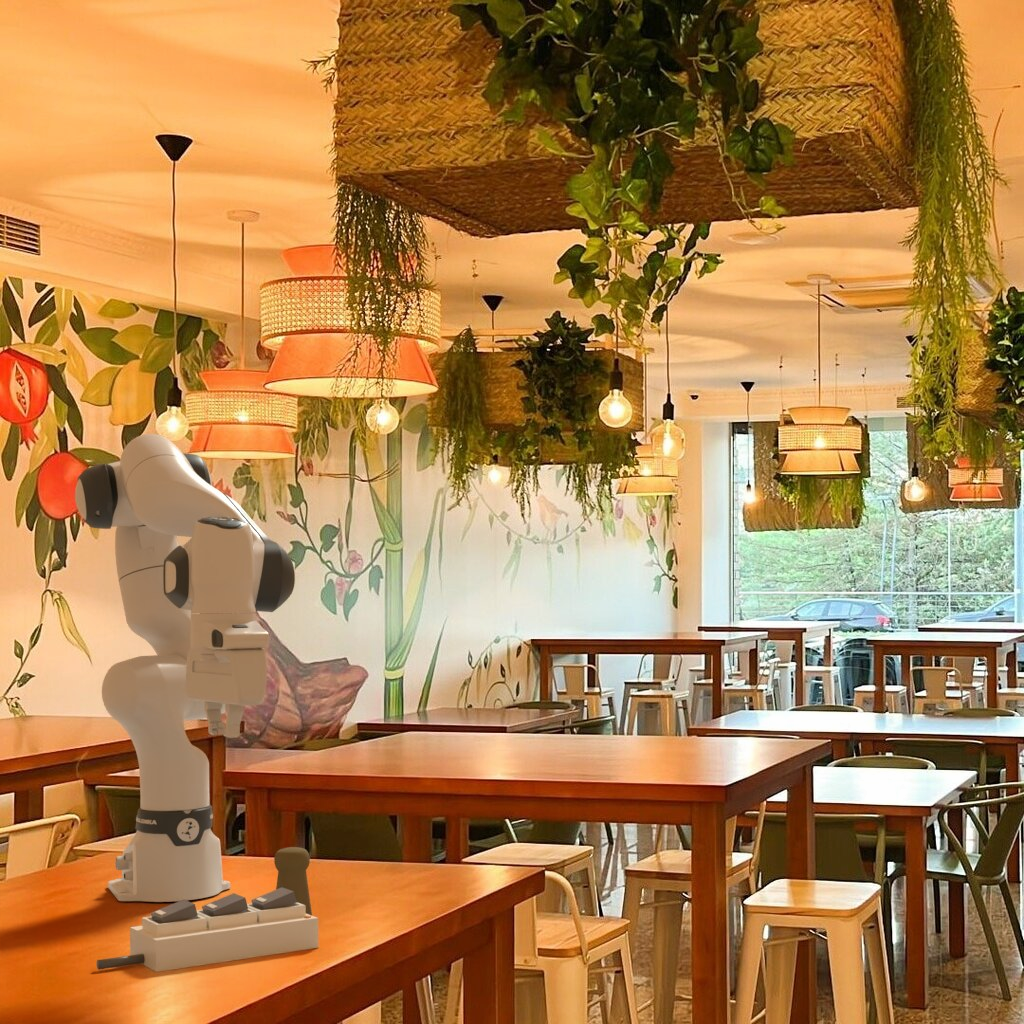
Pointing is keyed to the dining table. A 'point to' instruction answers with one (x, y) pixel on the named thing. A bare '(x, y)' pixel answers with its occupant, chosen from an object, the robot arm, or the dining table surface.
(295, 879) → the cork
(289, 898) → the rocker
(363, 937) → the dining table surface
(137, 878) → the robot arm
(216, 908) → the rocker
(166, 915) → the rocker
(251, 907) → the switch strip
